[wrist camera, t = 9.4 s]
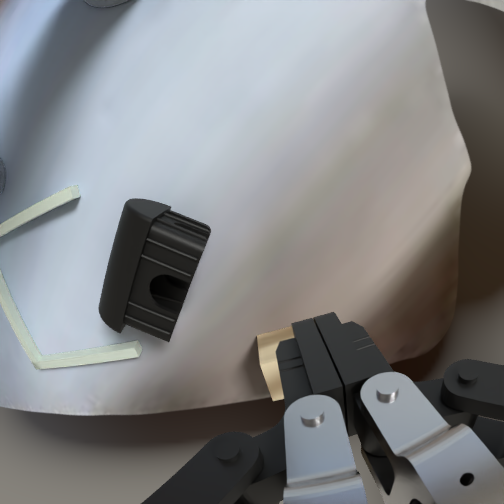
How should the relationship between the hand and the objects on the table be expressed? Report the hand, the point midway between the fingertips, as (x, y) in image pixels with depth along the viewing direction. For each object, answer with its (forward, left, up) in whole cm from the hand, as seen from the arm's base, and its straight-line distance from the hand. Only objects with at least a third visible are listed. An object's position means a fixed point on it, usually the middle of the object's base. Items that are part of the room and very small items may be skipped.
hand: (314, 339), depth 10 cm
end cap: (0, -10, -18) cm, 20 cm away
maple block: (+13, -1, -18) cm, 22 cm away
